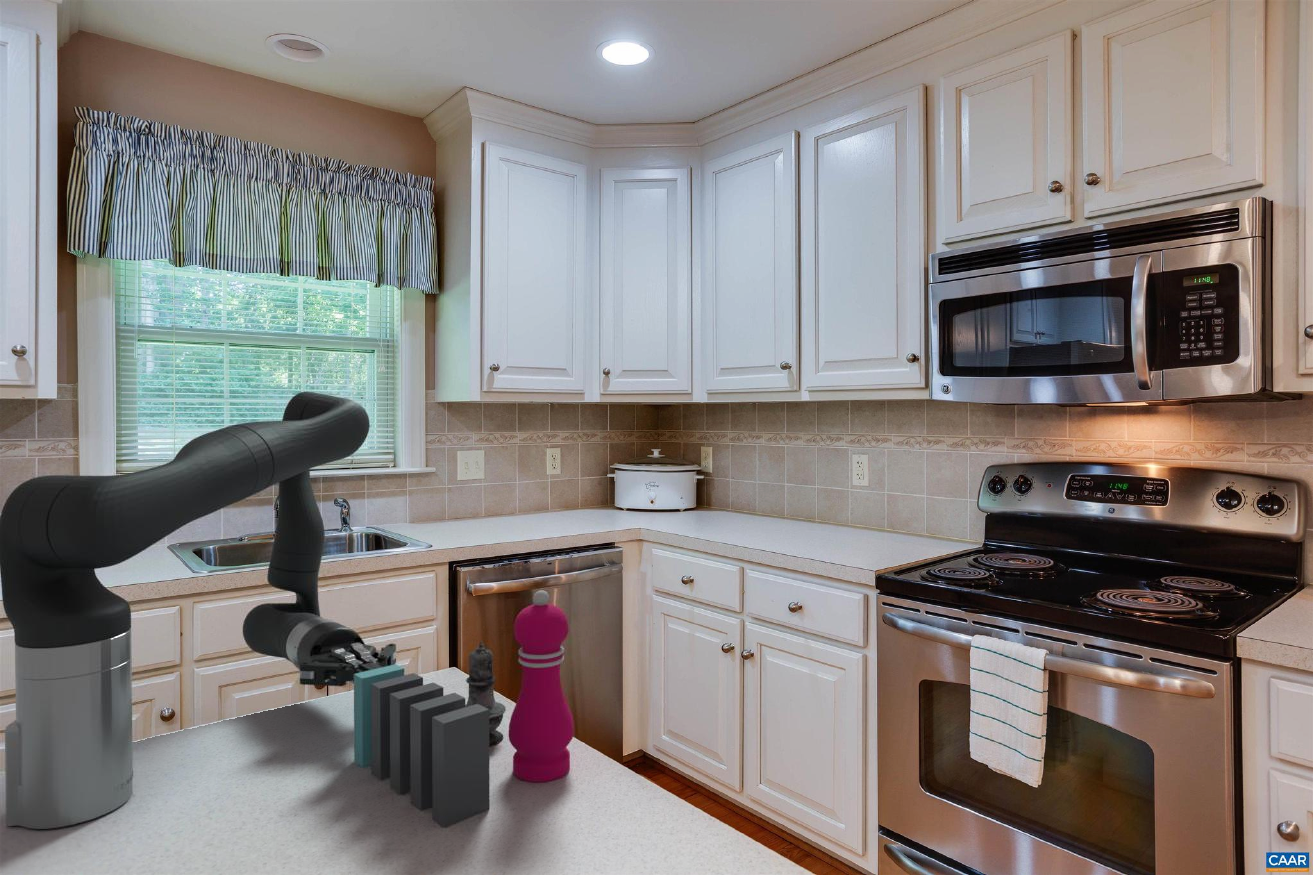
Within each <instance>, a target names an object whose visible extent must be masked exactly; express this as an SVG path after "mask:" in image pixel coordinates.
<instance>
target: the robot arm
mask: <svg viewBox="0 0 1313 875" xmlns="http://www.w3.org/2000/svg"><path fill="white" fill-rule="evenodd" d="M368 414H369V413H367V410H366V409H365V408H364V407H363V406H362V405H361V404H360V403H359V402H356V401H354V400H352V399H349V398H345V397H341V396H335V395H330V394H329V395H328V394H324V393H319V392H312V391H301V392H299V393H296V394H294V395H293V397H292V398H290V400H289V401H288V403H287V405H286V406H285V409H284V412H283V416H282V419H281V420H269V421H268V420H267V421H262V420H261V421H252V422H250V421H249V422H242V423H238V424H233V425H228V426H225V427H222V428H219V429H216V430H213V431H210V432H206V433H204V434H201V435H199V436H197V437H195V438H193V439H191V440H190V441H189V442H187V443H186V444H185V445H183V446H182V447H181V448H180V449H179V451H178V452H177V454H176V455H175V456H174V458H173V460H171V461H169V462H167V463H163V464H162V465H158V466H154V467H150V468H147V469H143V470H138V471H134V472H129V473H124V474H123V473H122V474H117V475H115V474H113V475H72V474H71V475H69V474H68V475H67V474H66V475H65V474H62V475H61V474H55V475H52V474H51V475H41V476H37V477H33V478H30V479H28V480H25V481H24V482H22V483H20V484H19V485H18V486H17V487H15V488H14V490H13V491H12V492H11V493H10V494H9V496H8V497H7V498H6V500H5V503H4V505H3V508H2V510H1V513H0V583H1V598H2V606H3V610H4V613H5V615H6V617H7V619H8V620H9V622H10V624H11V626H12V628H13V631H14V632H13V633H14V672H15V673H14V674H15V678H14V679H15V680H14V682H15V720H14V721H12V722H11V723H9V724H8V725H7V726H6V727H5V730H4V765H5V766H4V773H5V774H4V775H5V777H4V778H5V779H4V781H5V785H4V786H5V826H6V827H12V826H14V827H15V826H20V827H23V828H25V829H26V828H28V829H33V830H34V829H35V830H42V829H43V830H47V829H48V830H49V829H54V828H63V827H67V826H73V825H76V824H79V823H85V822H87V821H90V820H93V819H96V818H99V817H101V816H104V815H106V814H108V813H110V812H112V811H114V810H116V809H118V808H120V807H121V806H122V805H124V804H125V803H126V802H127V801H128V800H130V799H131V797H132V796H133V778H134V769H133V766H134V765H133V680H132V679H133V672H132V670H133V668H132V661H133V660H132V659H133V658H132V611H131V610H132V609H131V606H130V605H131V604H129V602H128V601H127V599H125V598H123V597H122V596H120V595H118V594H116V593H115V592H113V591H111V590H109V589H108V588H107V587H106V586H105V585H104V584H103V583H102V582H101V581H100V579H99V578H98V577H97V575H96V571H95V570H96V569H104V568H108V567H109V568H110V567H113V566H116V565H119V564H121V563H123V562H126V561H128V560H130V559H132V558H133V557H135V556H137V555H139V554H140V553H142V552H143V551H145V550H147V549H148V548H150V547H152V546H153V545H155V544H156V543H158V542H161V540H163V539H165V538H166V537H168V536H169V535H171V534H173V533H174V532H176V531H177V530H179V529H180V528H182V527H184V526H185V525H187V524H190V523H191V522H194V521H196V520H198V519H201V518H204V517H205V516H208V515H210V514H212V513H216V512H218V511H220V510H221V509H224V508H226V507H228V506H230V505H233V504H235V503H238V502H240V501H242V500H245V499H247V498H249V497H252V496H254V495H256V494H257V493H260V492H262V491H264V490H266V489H268V488H269V487H272V486H274V485H276V484H278V508H277V519H276V520H277V521H276V527H275V535H274V539H273V544H272V549H271V554H270V559H269V564H268V568H267V569H268V571H267V574H266V575H267V576H266V577H267V578H266V579H267V580H266V581H267V583H268V585H270V586H272V587H273V588H275V589H277V590H282V591H286V592H292V593H294V594H295V596H296V598H295V602H280V603H279V602H277V603H276V602H274V603H273V602H271V603H270V602H267V603H262V604H258V605H256V606H255V607H253V608H252V609H251V610H250V611H249V612H248V613H247V614H246V616H245V618H244V620H243V623H242V637H243V638H244V639H243V640H244V642H245V644H246V645H247V647H249V649H251V650H252V651H253V652H256V653H257V654H260V655H264V656H269V657H276V658H282V659H286V660H287V661H289V662H290V663H292V664H293V665H294V667H296V668H297V670H299V684H300V685H304V686H305V685H307V686H326V687H330V686H331V687H343V686H346V685H347V684H348V683H351V684H353V685H354V674H356V673H360V672H365V671H369V670H373V669H378V668H382V667H386V666H390V665H395V664H397V644H395V643H389V644H386V645H385V646H383V647H381V649H377V648H376V646H374V645H372V644H371V645H370V644H365V641H364V640H363V639H362V637H361V636H360V634H358V632H357V631H355V630H353V629H352V628H349V627H348V626H345V625H344V624H341V623H339V622H337V621H334V620H332V619H328V618H324V617H321V611H320V603H319V602H320V601H319V573H320V568H321V562H322V559H323V558H322V556H323V553H324V547H325V538H326V537H325V526H324V522H323V521H324V520H323V518H322V515H321V512H320V509H319V506H318V503H317V500H316V497H315V494H314V491H313V486H312V481H311V472H310V471H311V469H312V468H316V467H319V466H323V465H326V464H329V463H333V462H336V461H337V462H338V461H340V460H343V459H344V460H345V459H346V458H348V457H351V456H352V455H353V454H354V453H356V452H357V451H358V450H359V449H360V448H361V447H362V446H363V444H364V443H365V442H366V440H367V437H368V435H369V431H370V426H371V425H370V418H369V415H368Z"/></svg>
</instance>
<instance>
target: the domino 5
mask: <svg viewBox="0 0 1313 875" xmlns="http://www.w3.org/2000/svg"><path fill="white" fill-rule="evenodd" d="M432 790H433V807H432V820H433V822H435V823H437V824H438V825H439V826H440V827H442V828H443V829H445V828H447V827H450V826H452V825H455V824H458V823H461V822H462V821H464V820H467V819H469V818H471V817H474V816H476V815H479V814H481V813H484V812H486V811H489V810H490V809H491V808H490V803H491V802H490V747H489V709H487V708H485V707H483V706H481V705H479V704H475V705H471V706H468V707H465V708H461V709H458V710H455V711H451V712H448V713H445V714H441V715H438V716H435V717H432Z"/></svg>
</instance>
